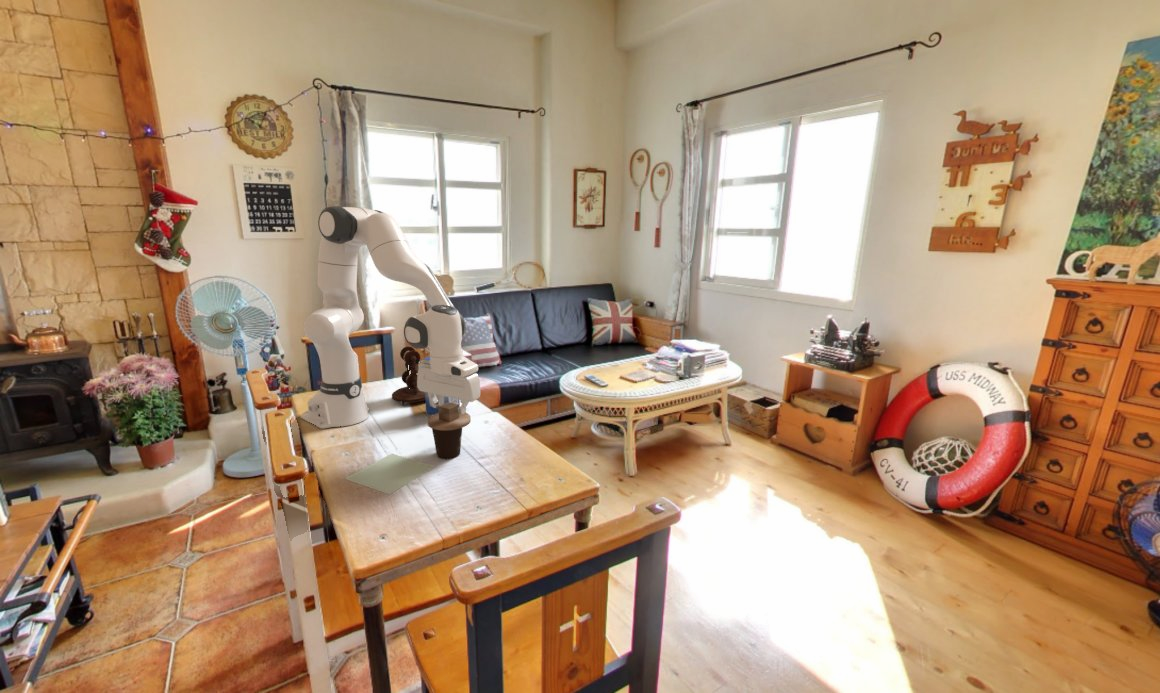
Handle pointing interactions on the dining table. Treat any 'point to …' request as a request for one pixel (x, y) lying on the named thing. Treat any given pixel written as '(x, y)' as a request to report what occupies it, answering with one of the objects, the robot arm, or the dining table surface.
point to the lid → (448, 418)
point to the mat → (389, 473)
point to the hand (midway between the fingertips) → (448, 410)
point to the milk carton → (440, 398)
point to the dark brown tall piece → (409, 378)
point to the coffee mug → (447, 443)
